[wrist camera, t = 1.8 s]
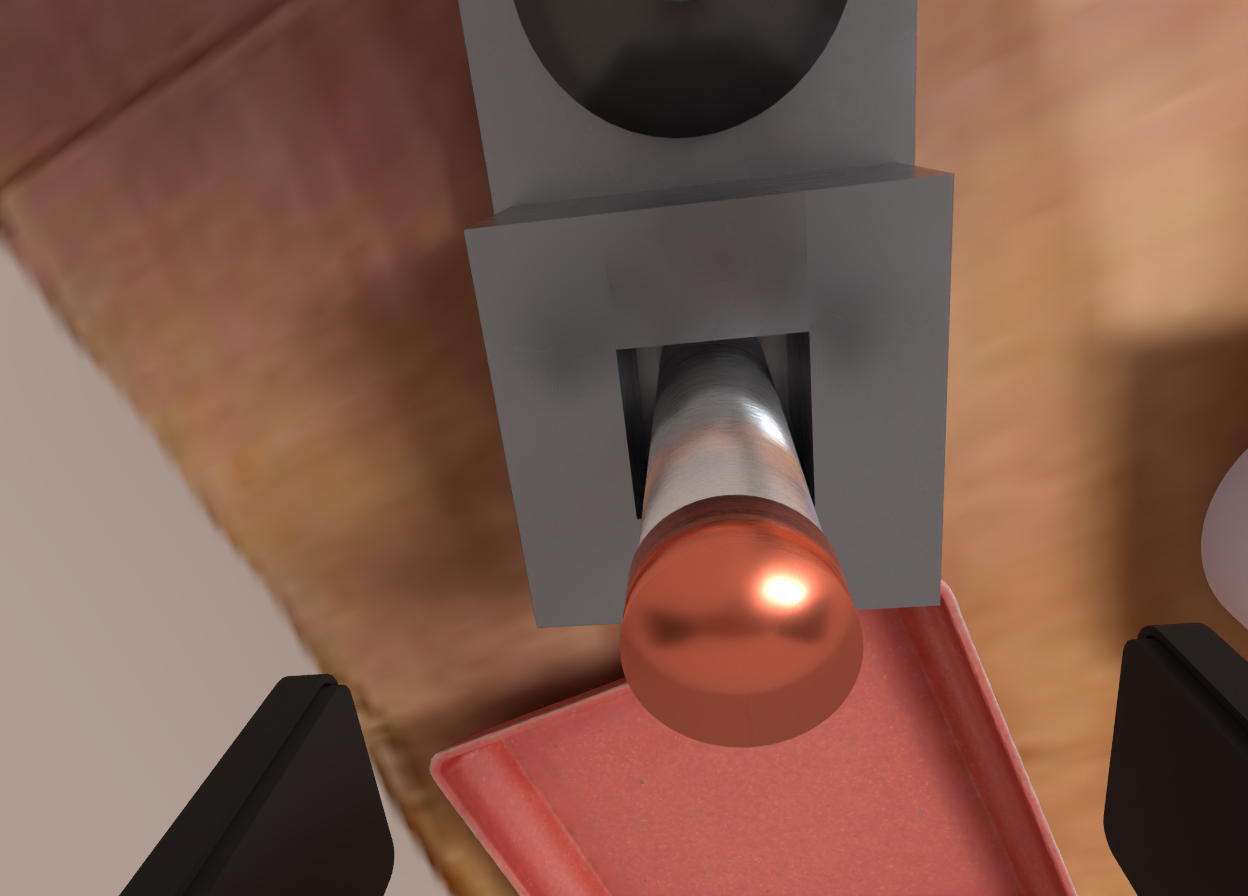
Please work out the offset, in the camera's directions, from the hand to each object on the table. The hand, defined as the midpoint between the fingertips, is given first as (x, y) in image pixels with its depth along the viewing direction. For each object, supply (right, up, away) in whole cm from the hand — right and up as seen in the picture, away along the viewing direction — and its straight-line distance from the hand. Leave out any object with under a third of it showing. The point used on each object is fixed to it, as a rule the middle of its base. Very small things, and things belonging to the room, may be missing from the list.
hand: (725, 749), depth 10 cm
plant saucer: (+4, -10, +21) cm, 24 cm away
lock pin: (+1, +6, +13) cm, 14 cm away
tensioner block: (+1, +11, +13) cm, 16 cm away
